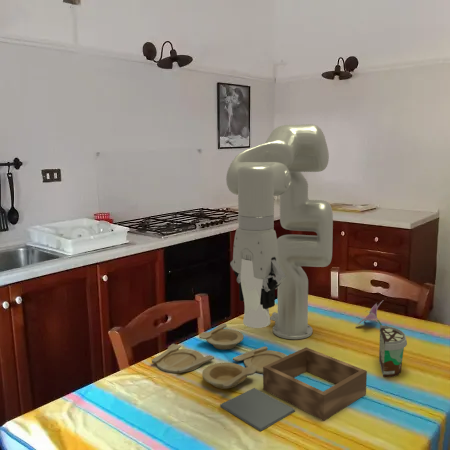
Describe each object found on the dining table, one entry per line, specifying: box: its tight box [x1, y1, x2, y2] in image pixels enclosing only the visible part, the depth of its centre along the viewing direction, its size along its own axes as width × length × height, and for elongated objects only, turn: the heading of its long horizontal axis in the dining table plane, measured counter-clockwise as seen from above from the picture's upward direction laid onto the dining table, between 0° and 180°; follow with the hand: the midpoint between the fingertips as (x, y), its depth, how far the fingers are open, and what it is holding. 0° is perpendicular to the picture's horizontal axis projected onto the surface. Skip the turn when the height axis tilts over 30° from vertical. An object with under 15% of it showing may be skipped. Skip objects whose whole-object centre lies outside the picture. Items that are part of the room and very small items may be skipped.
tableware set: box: [151, 323, 291, 390], centre depth 133 cm, size 35×29×4 cm
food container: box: [378, 324, 408, 378], centre depth 126 cm, size 12×6×10 cm, turn 168°
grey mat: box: [220, 387, 296, 432], centre depth 109 cm, size 13×11×1 cm
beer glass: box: [240, 258, 272, 329], centre depth 105 cm, size 7×7×15 cm
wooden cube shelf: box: [262, 346, 368, 422], centre depth 116 cm, size 18×16×6 cm
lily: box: [355, 301, 383, 328], centre depth 155 cm, size 12×12×10 cm
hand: (256, 302), depth 105 cm, fingers closed on beer glass, 6 cm apart
